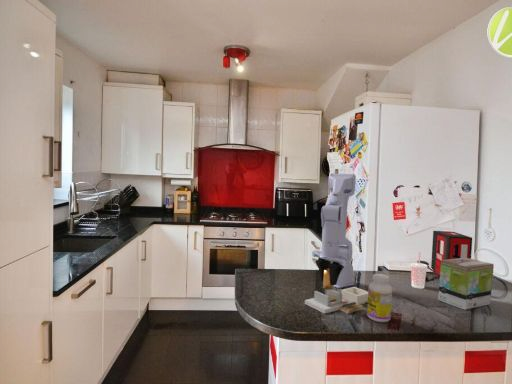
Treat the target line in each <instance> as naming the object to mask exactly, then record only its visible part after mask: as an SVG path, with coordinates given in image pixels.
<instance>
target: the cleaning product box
mask: <svg viewBox="0 0 512 384" xmlns="http://www.w3.org/2000/svg"><path fill="white" fill-rule="evenodd" d="M472 247H473V237H471V236H468V235H464V234H462V233H458V232H455V231H446V230H445V231H444V230H433V231H432V247H431V264H430V269H431V268H432V269H433V270H434V273H435V274H436V275H437V276H438V277H439V278H438V277H437V276H436V277H437V278H438V279H440V272H441V261H442V260H448V259H458V258H469V259H472V251H473V249H472Z"/></svg>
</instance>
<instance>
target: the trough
mask: <svg viewBox="0 0 512 384" xmlns="http://www.w3.org/2000/svg"><path fill="white" fill-rule="evenodd" d="M363 305H364V304H361V305H359V304H356V302H352V303H348V304H344V305H341V306H340V310H339V311H341V312H343V313H345V314H347V315H348V314H351V313H355V312H358V311H362V310H363V308H364V307H363Z"/></svg>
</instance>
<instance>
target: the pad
mask: <svg viewBox="0 0 512 384" xmlns="http://www.w3.org/2000/svg"><path fill="white" fill-rule="evenodd" d="M326 295H327V294H326ZM327 296H329V297H330V300H329V303H330V302H334V301H337V298H335V297H332V296H330V295H327Z"/></svg>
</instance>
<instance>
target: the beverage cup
mask: <svg viewBox="0 0 512 384" xmlns="http://www.w3.org/2000/svg"><path fill="white" fill-rule="evenodd" d="M410 268H411V271H410V272H411V274H410V275H411V277H410V280H411V287H412V288H415V289H425V284H426V275H427V269H428V264H425V263H422V262H421V251H419V252H418V262H410Z"/></svg>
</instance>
